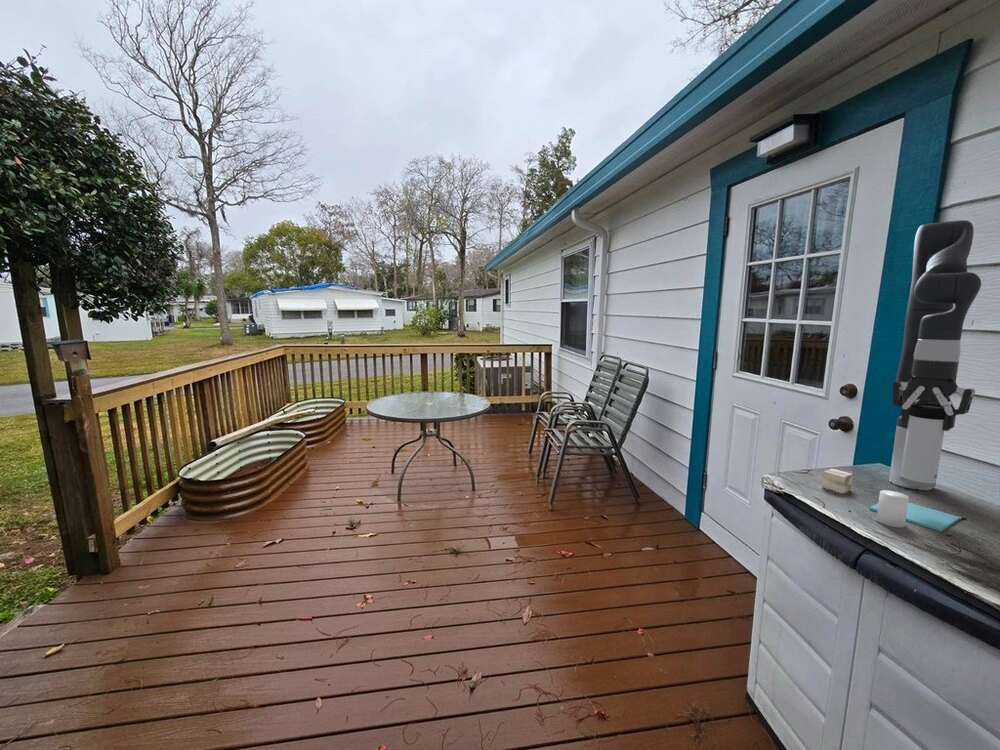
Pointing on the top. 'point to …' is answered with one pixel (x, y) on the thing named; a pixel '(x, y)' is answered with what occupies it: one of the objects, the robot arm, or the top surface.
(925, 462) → the travel mug
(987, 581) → the top surface
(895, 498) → the white plastic capsule
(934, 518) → the teal mat
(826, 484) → the birch block
